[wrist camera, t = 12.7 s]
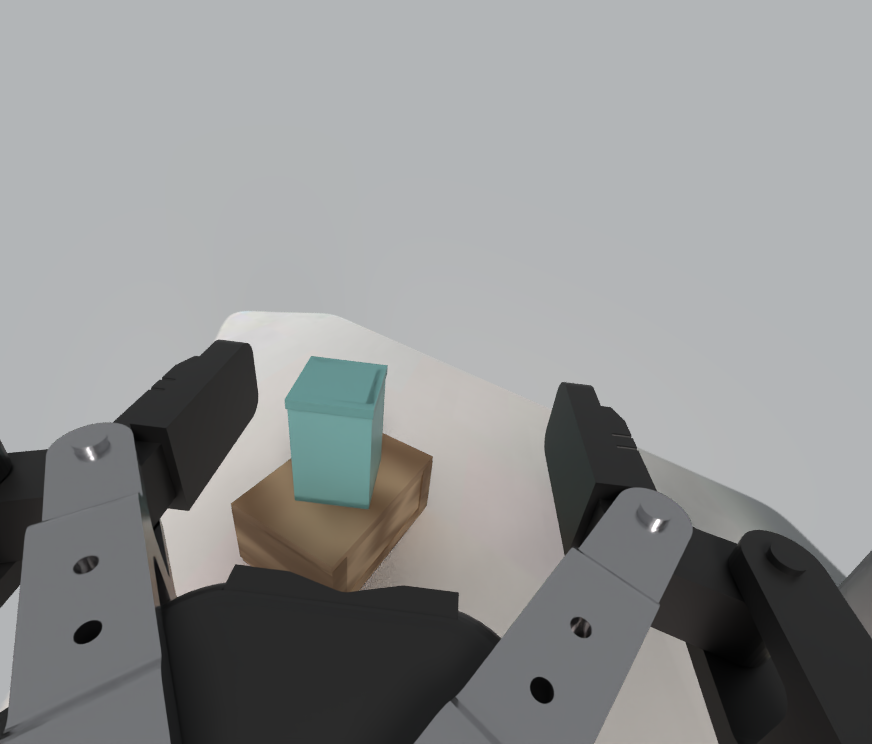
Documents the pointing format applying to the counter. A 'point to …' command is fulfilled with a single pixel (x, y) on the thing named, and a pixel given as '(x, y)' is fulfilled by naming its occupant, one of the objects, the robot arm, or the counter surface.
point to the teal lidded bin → (336, 431)
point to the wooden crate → (333, 522)
